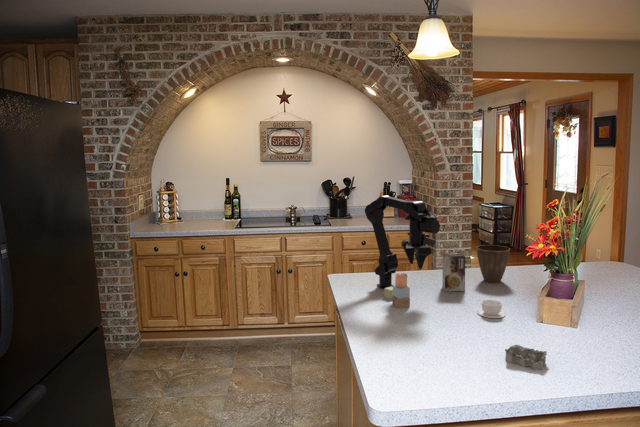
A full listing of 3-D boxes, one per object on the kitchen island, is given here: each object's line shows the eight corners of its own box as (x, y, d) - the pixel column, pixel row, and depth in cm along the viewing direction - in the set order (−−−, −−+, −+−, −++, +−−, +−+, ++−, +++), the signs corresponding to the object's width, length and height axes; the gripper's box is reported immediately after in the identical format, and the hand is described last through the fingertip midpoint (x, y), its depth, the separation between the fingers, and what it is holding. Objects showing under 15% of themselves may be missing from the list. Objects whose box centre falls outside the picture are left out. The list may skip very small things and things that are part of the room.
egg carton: (502, 362, 137) (502, 349, 136) (511, 353, 142) (511, 340, 142) (540, 372, 130) (541, 358, 129) (548, 362, 135) (548, 349, 135)
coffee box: (462, 287, 210) (462, 252, 208) (465, 291, 204) (465, 255, 202) (441, 286, 211) (442, 252, 209) (444, 291, 205) (444, 255, 203)
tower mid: (392, 295, 189) (392, 285, 188) (403, 293, 190) (403, 284, 190) (398, 298, 184) (398, 289, 183) (409, 297, 185) (409, 287, 185)
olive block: (384, 297, 199) (384, 288, 198) (390, 295, 201) (390, 286, 201) (391, 299, 196) (391, 290, 195) (397, 297, 198) (397, 288, 197)
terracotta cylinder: (393, 285, 188) (393, 273, 188) (404, 284, 189) (404, 272, 188) (397, 288, 184) (397, 276, 183) (408, 287, 185) (408, 275, 184)
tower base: (392, 303, 190) (392, 294, 189) (405, 302, 191) (405, 293, 190) (396, 308, 185) (396, 298, 184) (409, 307, 185) (409, 297, 185)
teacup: (507, 320, 170) (508, 307, 169) (479, 318, 171) (480, 306, 171) (502, 310, 179) (502, 299, 179) (475, 309, 181) (475, 298, 181)
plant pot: (473, 276, 228) (473, 244, 226) (504, 276, 226) (505, 244, 223) (479, 284, 213) (480, 251, 211) (512, 285, 211) (514, 251, 209)
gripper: (443, 233, 188) (443, 270, 190) (424, 226, 206) (424, 260, 209) (418, 234, 186) (418, 272, 188) (401, 227, 204) (400, 262, 206)
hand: (415, 266), depth 198 cm, fingers open, 9 cm apart
